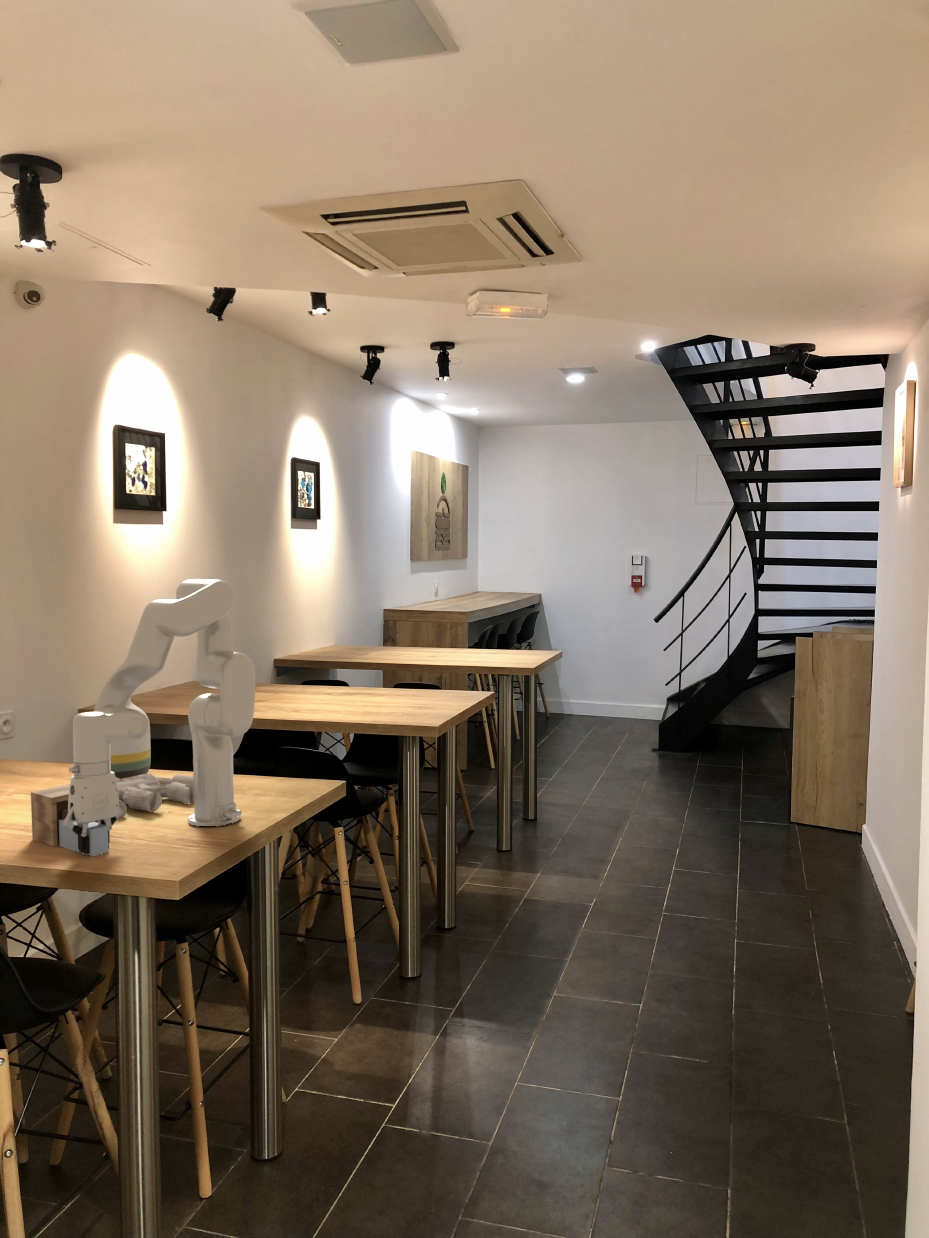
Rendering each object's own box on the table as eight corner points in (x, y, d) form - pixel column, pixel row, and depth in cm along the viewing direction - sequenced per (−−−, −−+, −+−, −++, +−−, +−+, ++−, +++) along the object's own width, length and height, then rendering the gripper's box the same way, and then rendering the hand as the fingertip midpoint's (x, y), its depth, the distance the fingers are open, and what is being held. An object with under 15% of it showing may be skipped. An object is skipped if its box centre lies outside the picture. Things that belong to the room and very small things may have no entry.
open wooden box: (101, 834, 220) (100, 787, 219) (53, 846, 210) (51, 797, 209) (80, 827, 225) (78, 782, 224) (32, 839, 216) (30, 792, 215)
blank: (108, 852, 206) (107, 825, 206) (91, 856, 203) (91, 829, 202) (76, 842, 214) (75, 816, 213) (59, 846, 211) (59, 820, 210)
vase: (162, 778, 276) (160, 698, 274) (107, 789, 263) (105, 705, 261) (133, 770, 287) (131, 693, 285) (79, 780, 274) (77, 699, 273)
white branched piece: (218, 798, 255) (148, 780, 272) (218, 773, 254) (147, 756, 271) (120, 830, 229) (49, 807, 246) (119, 802, 228) (48, 781, 245)
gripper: (66, 777, 196) (68, 863, 197) (135, 764, 209) (137, 844, 210) (46, 772, 200) (49, 856, 201) (116, 759, 214) (118, 838, 215)
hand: (94, 849), depth 206 cm, fingers closed on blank, 4 cm apart
